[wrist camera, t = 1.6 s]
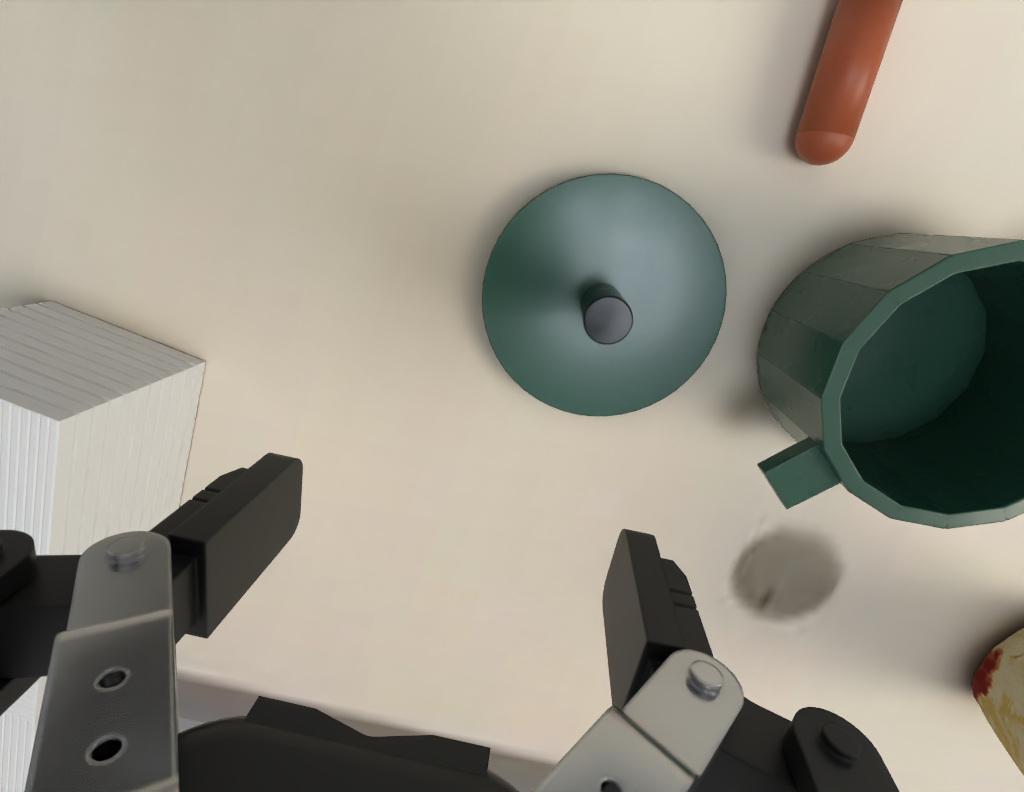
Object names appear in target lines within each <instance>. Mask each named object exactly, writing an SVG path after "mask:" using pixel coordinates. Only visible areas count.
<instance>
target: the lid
mask: <svg viewBox="0 0 1024 792" xmlns="http://www.w3.org/2000/svg"><path fill="white" fill-rule="evenodd" d="M725 303H726V276H725V270H724V264H723V260H722V257H721V254H720V251H719V247H718V245H717V243H716V241H715V239H714V237H713V235H712V233H711V231H710V229H709V228H708V226H707V225H706V223H705V222H704V220H703V219H702V218H701V216H700V215H699V214H698V213H697V212H696V211H695V210H694V209H693V208H692V207H691V206H690V205H689V204H688V203H687V202H686V201H684V200H683V199H682V198H681V197H679V196H678V195H677V194H675V193H674V192H672V191H670V190H669V189H667V188H665V187H663V186H662V185H659V184H657V183H654V182H652V181H649V180H647V179H643V178H639V177H635V176H631V175H622V174H595V175H589V176H584V177H578V178H575V179H572V180H569V181H566V182H563V183H561V184H559V185H557V186H555V187H553V188H550V189H548V190H546V191H545V192H543V193H542V194H540V195H539V196H537V197H536V198H534V199H533V200H532V201H530V202H529V203H528V204H527V205H526V206H525V207H524V208H522V209H521V210H520V211H519V212H518V213H517V214H516V216H515V217H514V218H513V219H512V220H511V221H510V222H509V223H508V225H507V226H506V228H505V229H504V231H503V232H502V234H501V235H500V237H499V239H498V241H497V243H496V245H495V247H494V249H493V251H492V253H491V256H490V259H489V261H488V264H487V267H486V272H485V277H484V281H483V292H482V308H483V318H484V323H485V329H486V332H487V335H488V338H489V341H490V344H491V346H492V348H493V350H494V353H495V355H496V357H497V358H498V360H499V361H500V363H501V365H502V366H503V368H504V369H505V370H506V372H507V373H508V374H509V375H510V376H511V378H512V379H513V380H514V381H515V382H516V383H517V384H518V385H519V386H520V387H522V388H523V389H524V390H525V391H526V392H528V393H529V394H531V395H532V396H533V397H535V398H536V399H538V400H540V401H542V402H544V403H545V404H547V405H549V406H552V407H554V408H557V409H559V410H562V411H566V412H570V413H574V414H579V415H587V416H612V415H620V414H625V413H629V412H633V411H637V410H639V409H642V408H645V407H647V406H650V405H652V404H654V403H656V402H658V401H660V400H662V399H664V398H665V397H667V396H668V395H670V394H671V393H672V392H674V391H675V390H677V389H678V388H679V387H680V386H681V385H683V384H684V383H685V382H686V381H687V380H688V379H689V378H690V377H691V376H692V375H693V374H694V373H695V372H696V370H697V369H698V368H699V367H700V365H701V364H702V363H703V361H704V360H705V358H706V357H707V356H708V354H709V352H710V350H711V348H712V346H713V344H714V342H715V341H716V338H717V335H718V333H719V330H720V327H721V324H722V320H723V316H724V311H725Z"/></svg>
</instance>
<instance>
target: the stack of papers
mask: <svg viewBox="0 0 1024 792" xmlns="http://www.w3.org/2000/svg"><path fill="white" fill-rule="evenodd" d="M205 363H206V362H205V361H203V360H200V359H198V358H195V357H193V356H190V355H187V354H185V353H182V352H180V351H177V350H175V349H172V348H170V347H167V346H164V345H162V344H159V343H157V342H154V341H152V340H149V339H147V338H144V337H142V336H139V335H136V334H134V333H131V332H129V331H126V330H124V329H121V328H119V327H116V326H114V325H111V324H108V323H106V322H103V321H101V320H98V319H96V318H93V317H91V316H88V315H86V314H83V313H80V312H78V311H75V310H73V309H70V308H68V307H65V306H63V305H60V304H58V303H55V302H52V301H47V302H41V303H39V305H37V304H29V305H24V307H21V306H17V307H11V308H8V310H6V309H0V530H17V531H21V532H24V533H27V534H29V535H30V536H31V537H32V538H33V540H34V545H35V551H36V555H82V554H83V552H84V551H85V550H86V549H87V548H89V547H90V546H91V545H93V544H95V543H96V542H98V541H100V540H102V539H104V538H107V537H110V536H112V535H116V534H120V533H125V532H132V531H150V530H151V529H152V528H154V527H155V526H156V525H157V524H159V523H160V522H161V521H163V520H164V519H165V518H167V517H168V516H169V515H170V514H172V513H173V512H174V511H176V510H177V509H178V508H179V504H180V499H181V493H182V488H183V483H184V477H185V472H186V466H187V461H188V455H189V450H190V445H191V439H192V434H193V428H194V423H195V417H196V412H197V407H198V401H199V396H200V390H201V385H202V380H203V374H204V369H205ZM46 680H47V676H43V677H40V678H39V679H38V680H37V681H36V682H35V683H34V684H33V685H32V686H31V687H30V688H29V689H28V690H27V691H26V692H25V693H24V694H23V695H22V696H21V697H20V698H19V699H18V700H17V701H16V702H15V703H13V704H12V705H11V706H10V707H9V708H8V709H7V710H6V711H5V712H4V713H3V714H2V715H1V716H0V792H24V790H25V785H26V780H27V775H28V770H29V765H30V760H31V755H32V750H33V745H34V740H35V735H36V730H37V725H38V720H39V715H40V710H41V705H42V700H43V695H44V690H45V685H46Z"/></svg>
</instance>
